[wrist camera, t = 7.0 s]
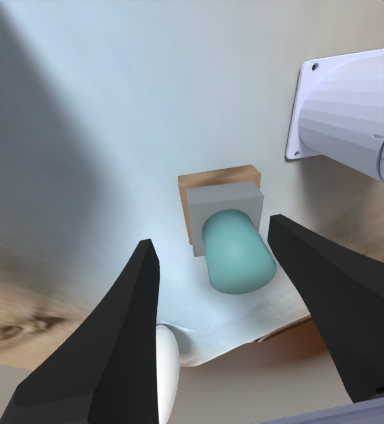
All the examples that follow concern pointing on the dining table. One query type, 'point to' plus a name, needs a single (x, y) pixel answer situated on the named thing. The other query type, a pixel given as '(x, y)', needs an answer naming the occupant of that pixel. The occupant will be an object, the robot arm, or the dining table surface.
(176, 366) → the sauce bottle
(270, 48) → the dining table surface
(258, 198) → the gray block
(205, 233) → the teal cylinder
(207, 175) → the walnut slab
